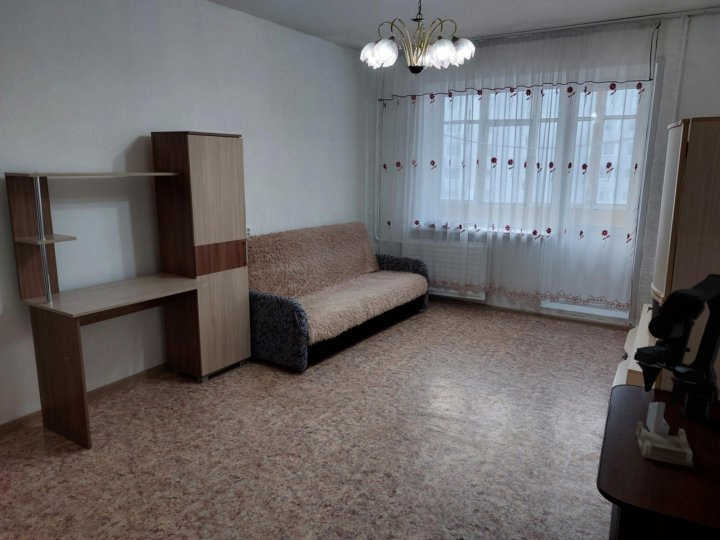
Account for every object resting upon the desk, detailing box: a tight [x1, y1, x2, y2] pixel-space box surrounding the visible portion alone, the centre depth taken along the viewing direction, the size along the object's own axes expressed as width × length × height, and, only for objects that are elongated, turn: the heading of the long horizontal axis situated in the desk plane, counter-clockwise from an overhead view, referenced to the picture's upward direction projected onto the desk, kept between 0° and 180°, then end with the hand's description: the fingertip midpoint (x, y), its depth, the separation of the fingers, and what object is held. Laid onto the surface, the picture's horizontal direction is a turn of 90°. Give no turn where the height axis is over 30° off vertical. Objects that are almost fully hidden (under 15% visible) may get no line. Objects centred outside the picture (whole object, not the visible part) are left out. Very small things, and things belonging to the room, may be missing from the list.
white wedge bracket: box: [645, 401, 670, 435], centre depth 138 cm, size 4×10×9 cm, turn 167°
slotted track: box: [635, 421, 695, 468], centre depth 130 cm, size 12×11×4 cm
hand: (658, 398), depth 131 cm, fingers open, 9 cm apart
